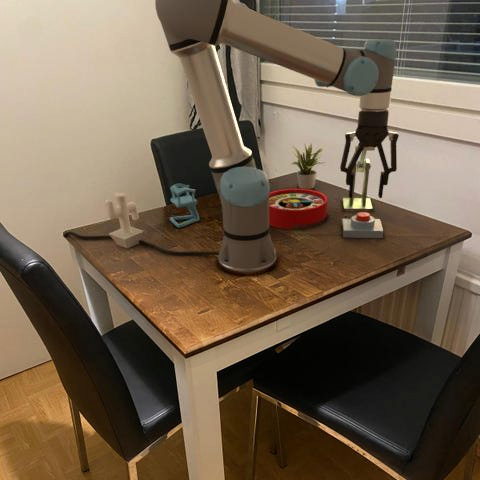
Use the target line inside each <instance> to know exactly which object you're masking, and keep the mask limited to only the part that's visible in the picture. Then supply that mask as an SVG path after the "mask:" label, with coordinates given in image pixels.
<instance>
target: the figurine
mask: <svg viewBox="0 0 480 480" xmlns="http://www.w3.org/2000/svg"><path fill="white" fill-rule="evenodd" d="M114 204H116V206H115V207H114ZM105 207H106V213H107V216H108V218H109V219H110V220H115V219H118V221H119V226H120V228H119V229H117V230H114V231H112V232H109V233H108V236H111V237H112V239H111V240H113V241H114V243H115V244H116V245H117V246H119V247H122V248H125V249H131V248H132V247H134V246H136V245H139V244H140V243H139V240H142V237H143V236H144V233H145V230H143V229H140V228H137V227H133V226H131V223H130V215H131V219H132V220H133V221H138V220H139V218H140V216H139V211H138V206H137V203H136V202H135V201H129V202H127V194H126V193H125V192H120V191H117V192H115V193H114V202H113V200H111V199H109V198H108V199H106V200H105Z"/></svg>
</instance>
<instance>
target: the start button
mask: <svg viewBox="0 0 480 480" xmlns="http://www.w3.org/2000/svg"><path fill="white" fill-rule="evenodd" d="M356 215H357V219H356V220H358V221H369V218H370V216H371V214H370V212H366V211H360V212H357V213H356Z"/></svg>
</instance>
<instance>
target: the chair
mask: <svg viewBox="0 0 480 480" xmlns="http://www.w3.org/2000/svg"><path fill="white" fill-rule="evenodd" d="M169 189H170V192H171V195H172V197H171V198H170V202H171V203H172V204H174V205H175V206H176V208H182V207H186V208H187V209H188V211H189V213H190V214H189V215H180V216H179V215H178V216H169V221H170V222H171V223H172V224H173V225H174V226H175V227H177V228H178V229H180V228H183V227H185V226H188V225H190V224H193V223H196V222H199V221H200V215H199V212H198V211H197V207H196V206H197V204H198V200H197V199H196V198H195V193H196V189H193V188H190V185H189V184H184V183H181V182H180V183H178V182H177V183H175V184H173V185H172V186H170V187H169ZM184 193H185V194H186V195H183V196H181V195H182V194H184ZM190 193H192V194H191V195H190ZM180 220H181V221H183V220H186V221H184V222H181V223H178V221H180Z"/></svg>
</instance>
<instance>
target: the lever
mask: <svg viewBox="0 0 480 480" xmlns="http://www.w3.org/2000/svg"><path fill="white" fill-rule="evenodd" d="M357 146H358V144H357V145H355V147H354V150H355V151H356V149H357ZM375 150H376V147H364V149H363V151H362V152H361V154H360V157H359V158H360V159H359V160H357V165H356V173H364V170H365V160H366V155H367V152H368V151H373V152H374V151H375ZM355 151H354V152H355Z"/></svg>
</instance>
